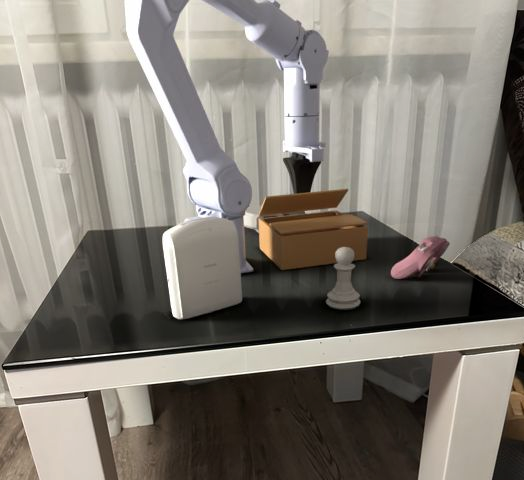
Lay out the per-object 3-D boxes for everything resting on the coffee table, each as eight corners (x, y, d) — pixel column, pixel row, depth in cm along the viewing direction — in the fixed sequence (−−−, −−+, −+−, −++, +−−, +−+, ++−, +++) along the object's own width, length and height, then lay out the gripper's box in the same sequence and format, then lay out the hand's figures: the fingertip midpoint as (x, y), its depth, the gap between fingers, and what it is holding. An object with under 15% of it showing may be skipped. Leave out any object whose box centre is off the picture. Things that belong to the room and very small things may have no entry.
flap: (265, 198, 90) (265, 196, 90) (258, 215, 96) (258, 214, 96) (348, 190, 93) (348, 188, 93) (336, 207, 99) (336, 206, 99)
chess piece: (350, 295, 77) (352, 240, 73) (366, 306, 73) (370, 249, 69) (320, 300, 76) (320, 244, 72) (335, 312, 72) (337, 254, 68)
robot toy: (289, 221, 119) (227, 226, 113) (290, 200, 117) (227, 204, 111) (319, 233, 109) (253, 239, 103) (321, 210, 107) (253, 215, 101)
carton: (281, 270, 88) (280, 232, 85) (259, 248, 99) (258, 214, 96) (366, 259, 91) (368, 222, 88) (335, 239, 102) (336, 206, 99)
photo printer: (180, 323, 70) (169, 229, 65) (166, 313, 74) (155, 222, 68) (247, 304, 75) (242, 215, 69) (231, 295, 78) (226, 209, 73)
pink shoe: (410, 293, 81) (435, 256, 76) (386, 275, 82) (409, 237, 77) (435, 274, 88) (460, 239, 83) (412, 258, 89) (435, 222, 84)
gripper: (342, 116, 83) (339, 205, 90) (309, 111, 96) (308, 190, 102) (299, 119, 82) (299, 210, 88) (271, 114, 94) (273, 193, 100)
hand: (302, 199), depth 95 cm, fingers closed
